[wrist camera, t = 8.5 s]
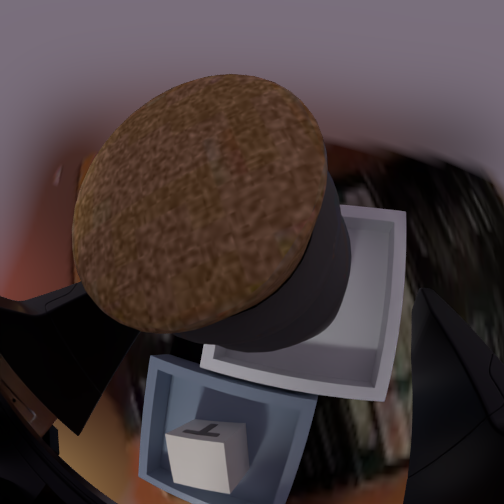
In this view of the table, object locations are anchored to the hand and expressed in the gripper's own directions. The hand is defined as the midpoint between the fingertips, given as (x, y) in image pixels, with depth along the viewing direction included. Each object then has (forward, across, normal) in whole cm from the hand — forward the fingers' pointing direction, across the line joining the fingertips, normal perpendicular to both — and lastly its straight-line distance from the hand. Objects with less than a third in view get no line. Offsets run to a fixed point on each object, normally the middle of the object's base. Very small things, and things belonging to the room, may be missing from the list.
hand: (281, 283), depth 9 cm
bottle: (+7, +1, +6) cm, 10 cm away
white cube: (-1, +4, +15) cm, 15 cm away
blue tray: (-1, +4, +15) cm, 16 cm away
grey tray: (+8, 0, +6) cm, 10 cm away
